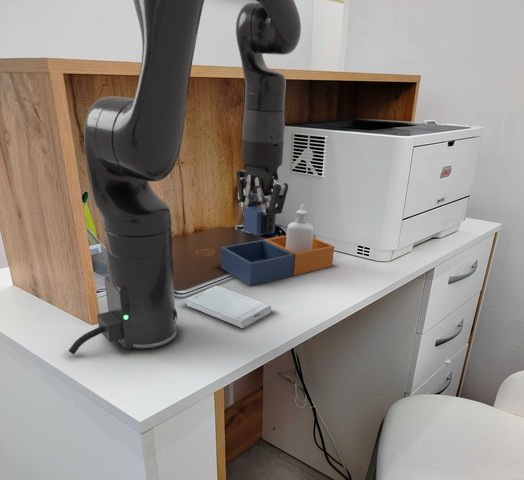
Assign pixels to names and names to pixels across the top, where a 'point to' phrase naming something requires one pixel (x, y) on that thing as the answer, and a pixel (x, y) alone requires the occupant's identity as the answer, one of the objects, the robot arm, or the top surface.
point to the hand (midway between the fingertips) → (258, 229)
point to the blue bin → (257, 262)
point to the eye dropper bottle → (300, 233)
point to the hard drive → (229, 306)
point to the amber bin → (308, 255)
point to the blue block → (254, 220)
